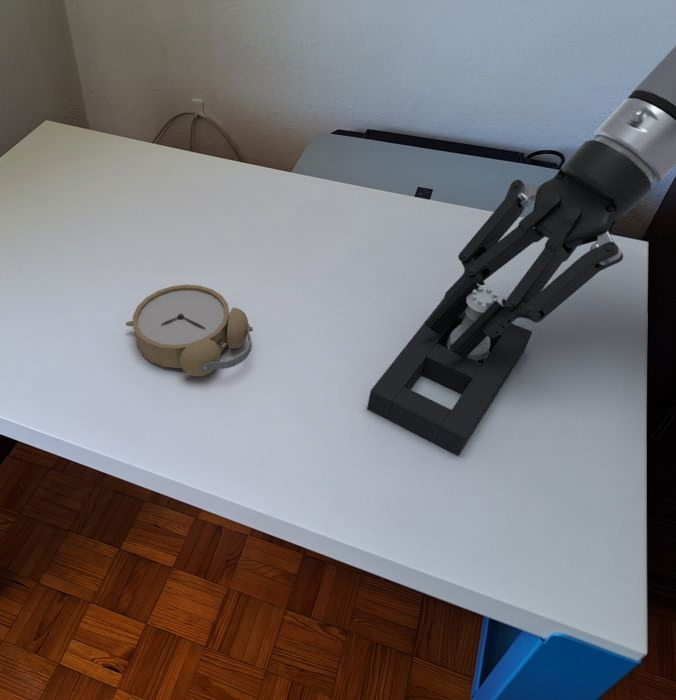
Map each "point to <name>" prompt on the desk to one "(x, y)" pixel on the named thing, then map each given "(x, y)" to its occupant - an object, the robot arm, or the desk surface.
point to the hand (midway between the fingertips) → (444, 340)
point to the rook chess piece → (475, 308)
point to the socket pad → (445, 383)
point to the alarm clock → (189, 329)
